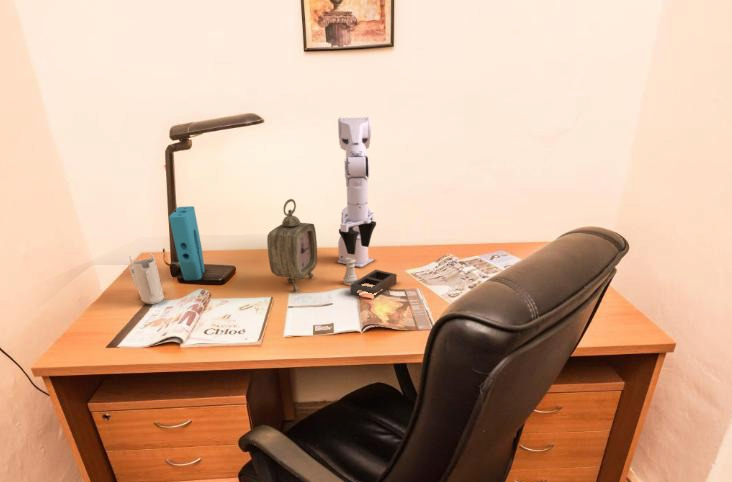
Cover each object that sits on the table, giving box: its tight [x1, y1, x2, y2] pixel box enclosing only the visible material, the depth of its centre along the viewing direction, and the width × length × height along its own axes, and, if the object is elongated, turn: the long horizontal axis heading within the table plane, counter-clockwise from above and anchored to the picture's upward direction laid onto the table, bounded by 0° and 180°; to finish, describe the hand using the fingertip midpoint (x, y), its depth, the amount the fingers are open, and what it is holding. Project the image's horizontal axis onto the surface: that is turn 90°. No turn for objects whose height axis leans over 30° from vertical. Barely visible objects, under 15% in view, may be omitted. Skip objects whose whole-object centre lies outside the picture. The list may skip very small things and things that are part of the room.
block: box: [168, 205, 205, 281], centre depth 148 cm, size 12×5×20 cm, turn 6°
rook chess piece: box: [342, 256, 359, 286], centre depth 144 cm, size 4×4×8 cm
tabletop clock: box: [266, 198, 318, 293], centre depth 140 cm, size 14×9×25 cm, turn 161°
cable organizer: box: [128, 252, 165, 305], centre depth 135 cm, size 7×12×12 cm, turn 29°
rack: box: [350, 269, 398, 299], centre depth 142 cm, size 14×7×3 cm, turn 148°
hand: (358, 249), depth 141 cm, fingers open, 7 cm apart
